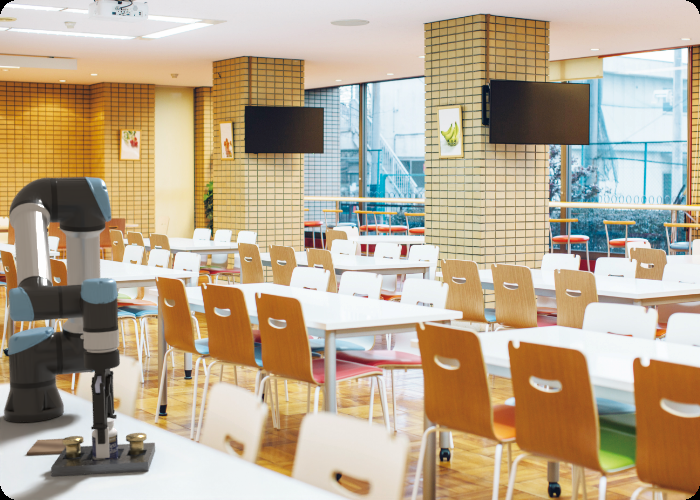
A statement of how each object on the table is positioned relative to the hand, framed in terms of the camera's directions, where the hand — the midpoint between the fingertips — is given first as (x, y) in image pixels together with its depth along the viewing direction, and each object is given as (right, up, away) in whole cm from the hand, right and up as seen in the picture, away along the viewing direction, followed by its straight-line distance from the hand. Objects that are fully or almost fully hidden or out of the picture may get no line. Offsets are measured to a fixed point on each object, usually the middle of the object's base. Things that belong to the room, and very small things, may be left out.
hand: (105, 452), depth 185 cm
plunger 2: (+7, 0, +1) cm, 7 cm away
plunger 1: (-7, 0, -1) cm, 7 cm away
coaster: (-16, -2, +12) cm, 20 cm away
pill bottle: (0, -3, 0) cm, 3 cm away
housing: (0, -2, 0) cm, 2 cm away
